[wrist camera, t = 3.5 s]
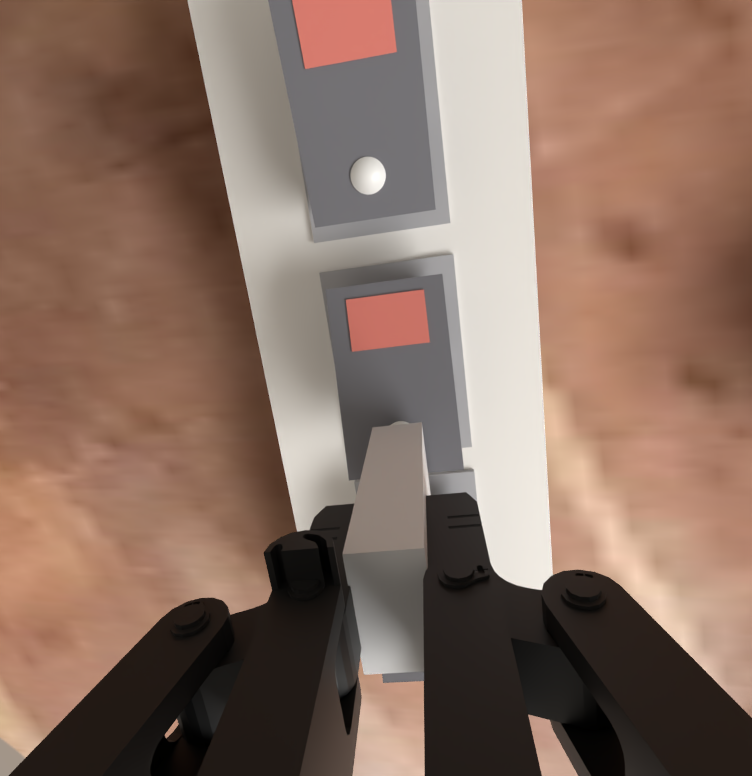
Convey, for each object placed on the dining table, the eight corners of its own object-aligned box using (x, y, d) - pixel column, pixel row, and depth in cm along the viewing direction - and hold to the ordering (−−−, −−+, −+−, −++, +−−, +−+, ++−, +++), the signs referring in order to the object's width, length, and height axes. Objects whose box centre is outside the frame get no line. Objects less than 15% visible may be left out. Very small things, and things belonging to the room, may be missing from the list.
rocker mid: (333, 294, 17) (324, 289, 16) (441, 279, 17) (442, 273, 16) (355, 470, 18) (348, 481, 16) (461, 460, 17) (464, 470, 16)
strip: (170, -254, 17) (69, -452, 12) (476, -337, 16) (502, -591, 11) (334, 598, 27) (314, 684, 22) (536, 585, 26) (564, 672, 21)
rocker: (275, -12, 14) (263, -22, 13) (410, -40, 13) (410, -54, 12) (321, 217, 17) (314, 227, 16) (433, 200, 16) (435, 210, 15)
